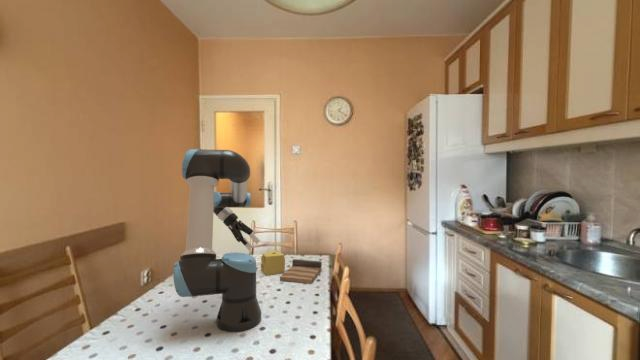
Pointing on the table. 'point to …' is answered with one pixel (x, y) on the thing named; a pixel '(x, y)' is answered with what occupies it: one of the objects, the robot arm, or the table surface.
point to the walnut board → (302, 271)
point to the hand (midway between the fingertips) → (255, 245)
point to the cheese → (273, 262)
